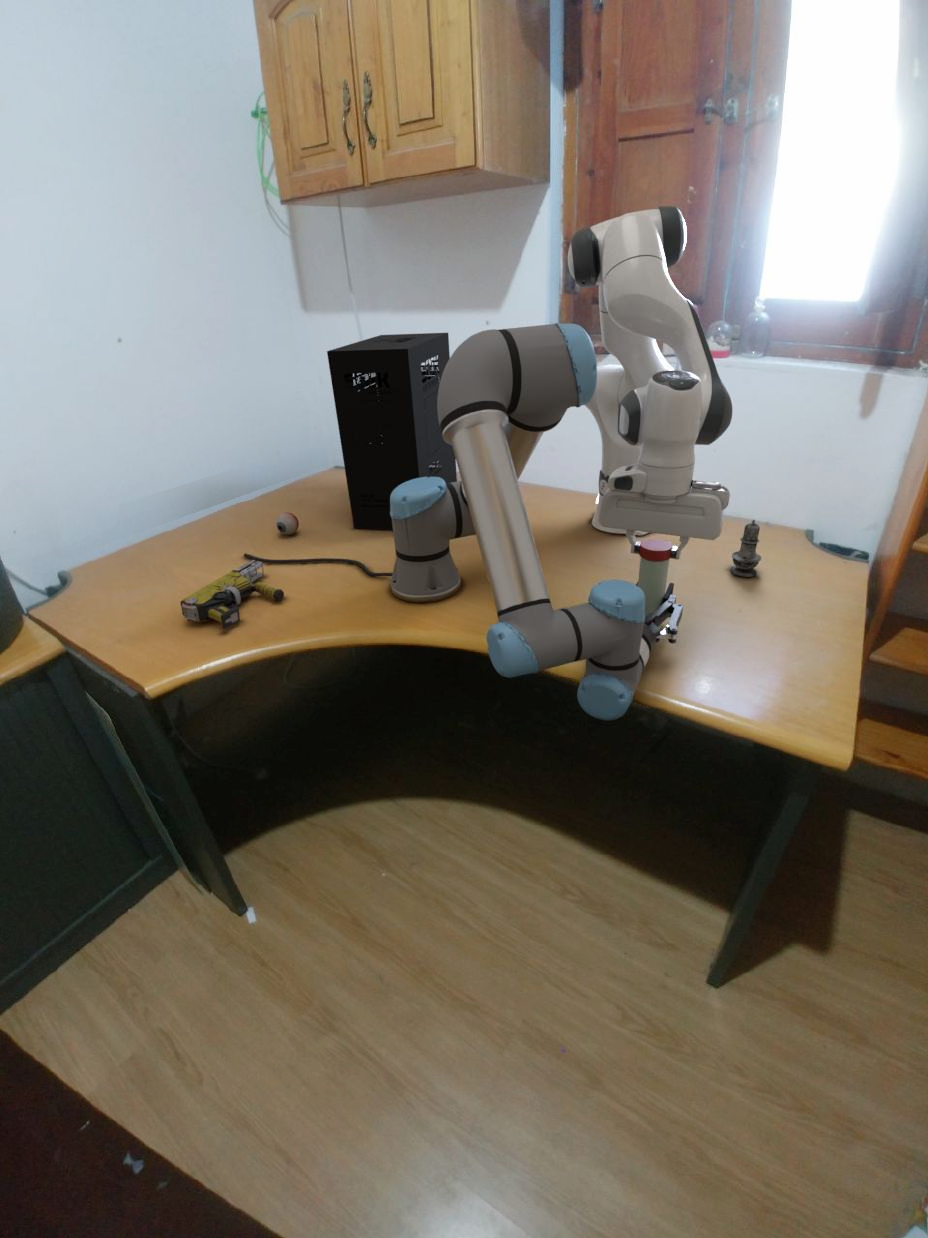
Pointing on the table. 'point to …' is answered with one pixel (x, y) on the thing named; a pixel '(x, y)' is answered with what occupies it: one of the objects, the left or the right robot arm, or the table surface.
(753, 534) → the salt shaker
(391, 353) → the black computer case
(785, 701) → the table surface
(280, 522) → the eyeball
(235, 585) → the toy gun
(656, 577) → the jar
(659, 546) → the lid
